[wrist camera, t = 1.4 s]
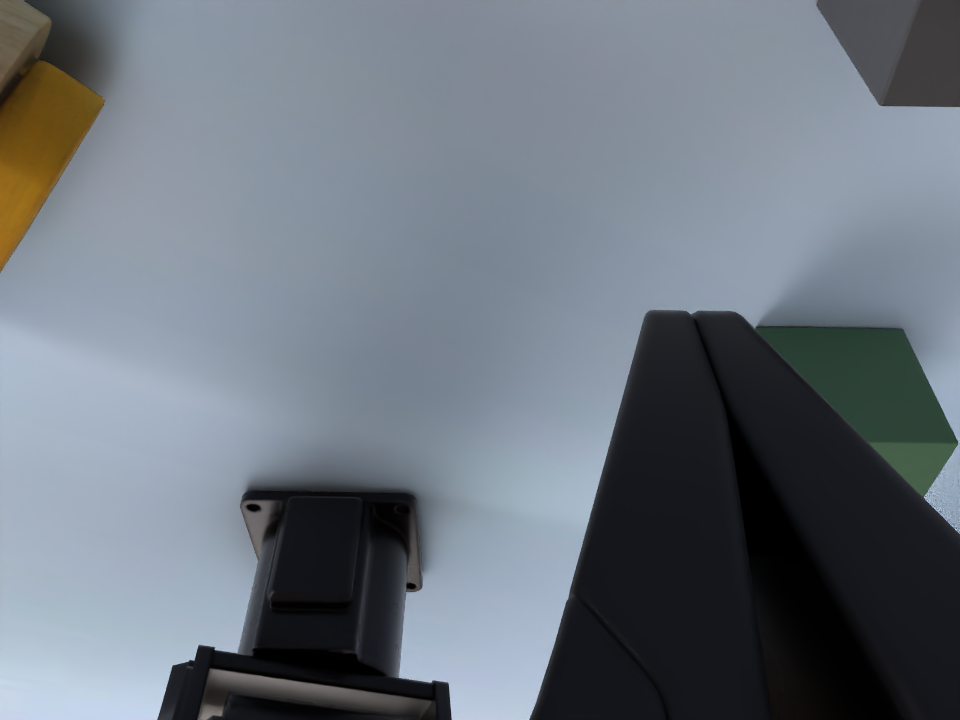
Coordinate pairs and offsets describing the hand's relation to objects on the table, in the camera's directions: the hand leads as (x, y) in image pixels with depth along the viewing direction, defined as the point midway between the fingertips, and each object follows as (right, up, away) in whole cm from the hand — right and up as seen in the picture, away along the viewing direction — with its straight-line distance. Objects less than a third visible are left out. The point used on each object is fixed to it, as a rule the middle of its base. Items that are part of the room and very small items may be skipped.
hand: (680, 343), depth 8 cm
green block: (+9, -1, +19) cm, 21 cm away
